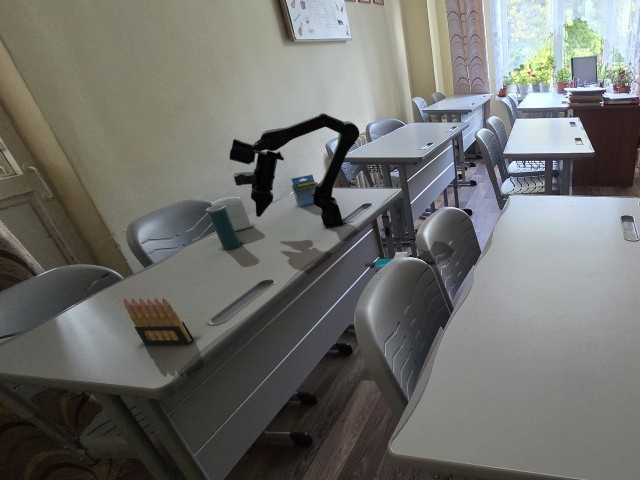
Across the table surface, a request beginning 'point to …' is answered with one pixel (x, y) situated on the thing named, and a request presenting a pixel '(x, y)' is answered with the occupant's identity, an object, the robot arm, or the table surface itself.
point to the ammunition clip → (157, 323)
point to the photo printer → (235, 212)
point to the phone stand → (386, 261)
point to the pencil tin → (223, 226)
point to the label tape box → (303, 190)
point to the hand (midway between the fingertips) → (258, 212)
